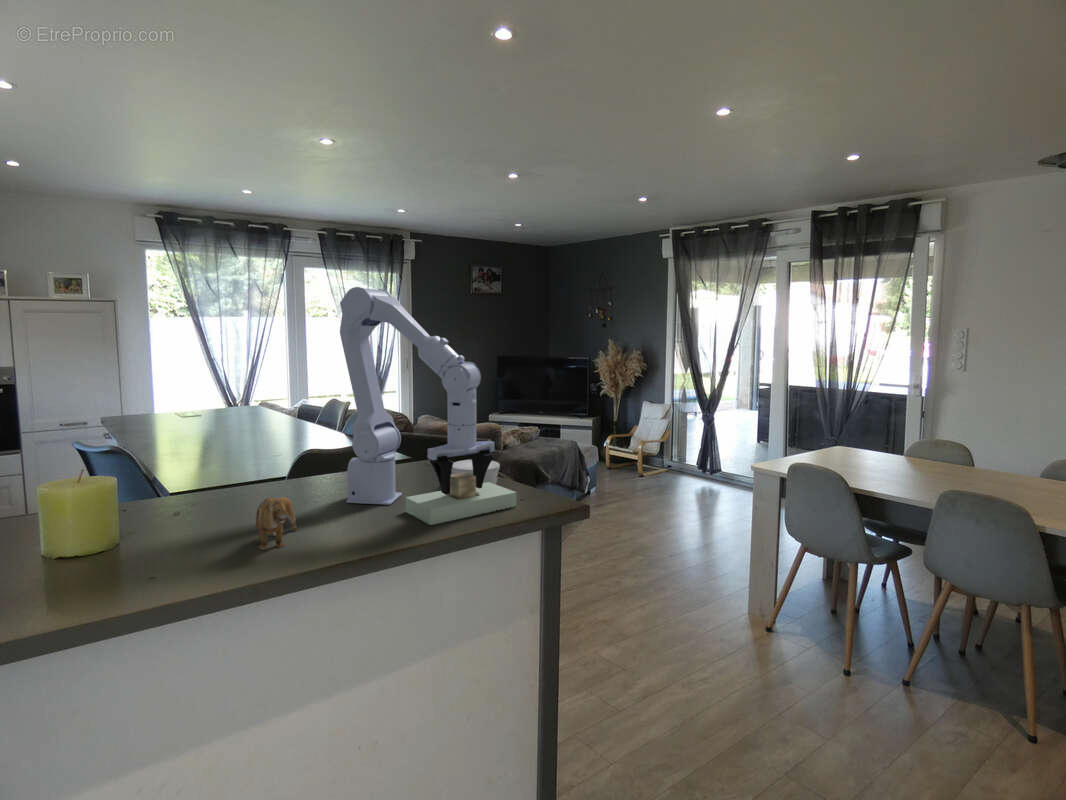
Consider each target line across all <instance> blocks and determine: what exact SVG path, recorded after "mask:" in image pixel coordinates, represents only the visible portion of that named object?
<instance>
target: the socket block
mask: <svg viewBox="0 0 1066 800" xmlns="http://www.w3.org/2000/svg"><path fill="white" fill-rule="evenodd" d="M517 494H518V493H517V491H514V490H511V489H508V488H507V487H503V486H501V485H498V484H496V485H495V484H493V483H490V482H487V483H483V485H482V488H480V489H479V488H477V487H476V497H470V498H465V499H460V500H457V499H454V498H452V497H450V496H448V494H447V495H446V494H444V493H442V492H441V490H439V491H433V492H427V493H421V494H416V495H411V496H405V498H404V500H405V512H406V513H407V514H409V515H411V516H412V515H413V517H414V516H415V517H414V518H416V519H418V520H420V521H422V522H424V523H426V524H427V525H430V526H432V525H437V524H443V523H447V522H451V521H455V520H460V519H465V518H470V517H474V516H478V515H483V513H484V514H488V513H492V511H493V512H497V511H496V510H498V511H502V510H506V508H507V509H511V508H515V506H516V507H517ZM510 507H511V508H510ZM501 509H502V510H501Z"/></svg>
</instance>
